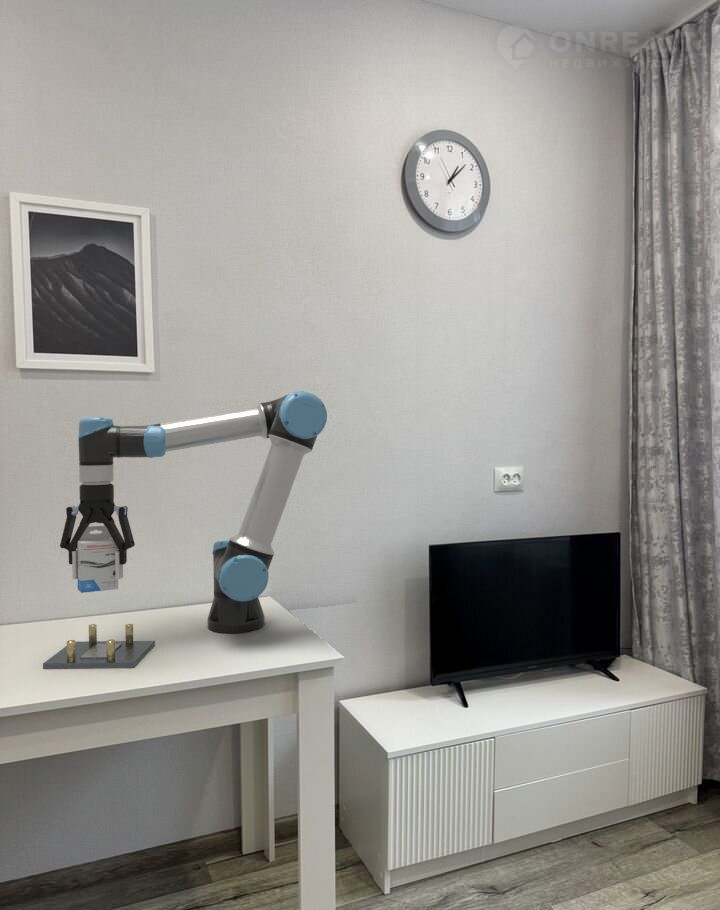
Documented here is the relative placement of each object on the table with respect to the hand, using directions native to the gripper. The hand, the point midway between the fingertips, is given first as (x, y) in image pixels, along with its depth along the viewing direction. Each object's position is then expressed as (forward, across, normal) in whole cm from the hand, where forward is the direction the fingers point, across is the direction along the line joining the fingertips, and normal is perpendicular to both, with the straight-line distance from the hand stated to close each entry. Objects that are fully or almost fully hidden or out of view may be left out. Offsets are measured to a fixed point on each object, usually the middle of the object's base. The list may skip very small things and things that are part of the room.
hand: (98, 578), depth 163 cm
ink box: (+3, 0, 0) cm, 3 cm away
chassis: (+18, -2, +3) cm, 18 cm away
